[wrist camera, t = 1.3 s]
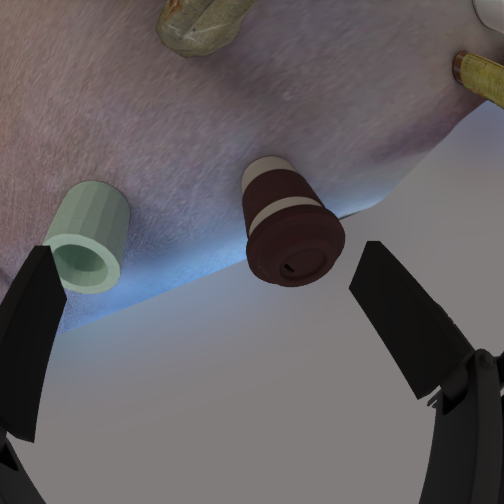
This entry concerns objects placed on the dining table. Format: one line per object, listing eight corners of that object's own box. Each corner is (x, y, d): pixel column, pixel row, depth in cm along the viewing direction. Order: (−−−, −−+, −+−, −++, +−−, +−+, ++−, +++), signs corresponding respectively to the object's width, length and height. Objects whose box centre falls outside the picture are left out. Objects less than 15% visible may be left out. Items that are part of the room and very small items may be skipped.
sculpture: (244, 15, 20) (290, 10, 10) (195, 62, 23) (196, 97, 13) (201, -17, 17) (208, -54, 7) (152, 33, 20) (113, 43, 10)
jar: (52, 214, 32) (30, 268, 26) (86, 166, 29) (60, 218, 22) (105, 248, 39) (94, 303, 33) (144, 209, 36) (137, 266, 29)
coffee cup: (306, 142, 33) (362, 219, 23) (301, 203, 40) (341, 286, 30) (226, 150, 32) (248, 236, 22) (233, 213, 39) (253, 304, 29)
